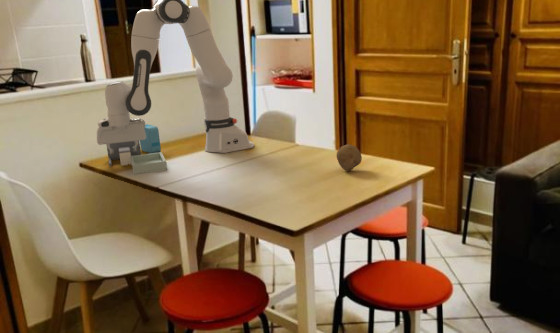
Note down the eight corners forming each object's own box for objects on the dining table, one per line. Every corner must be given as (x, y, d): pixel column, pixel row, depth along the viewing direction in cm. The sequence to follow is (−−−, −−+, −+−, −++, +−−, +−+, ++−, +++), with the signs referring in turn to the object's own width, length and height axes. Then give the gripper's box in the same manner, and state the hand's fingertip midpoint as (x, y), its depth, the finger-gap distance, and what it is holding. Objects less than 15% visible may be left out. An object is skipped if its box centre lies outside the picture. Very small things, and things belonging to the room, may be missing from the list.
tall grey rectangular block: (130, 159, 230) (129, 146, 228) (132, 164, 221) (130, 150, 220) (120, 160, 228) (118, 147, 227) (121, 165, 220) (119, 152, 219)
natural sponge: (353, 166, 197) (352, 140, 195) (366, 171, 189) (366, 144, 187) (332, 170, 194) (331, 144, 191) (345, 175, 186) (344, 148, 183)
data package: (161, 152, 239) (158, 126, 236) (152, 154, 236) (149, 128, 233) (149, 148, 248) (146, 123, 245) (141, 150, 245) (137, 125, 242)
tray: (162, 160, 225) (161, 152, 224) (167, 169, 209) (166, 161, 208) (131, 164, 221) (130, 156, 220) (134, 174, 205) (132, 165, 204)
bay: (141, 155, 235) (137, 132, 232) (143, 162, 223) (140, 138, 220) (108, 159, 231) (105, 136, 228) (109, 167, 219) (105, 142, 216)
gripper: (143, 116, 226) (147, 147, 229) (94, 121, 220) (98, 153, 223) (145, 119, 220) (148, 150, 224) (94, 124, 214) (99, 156, 217)
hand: (123, 152), depth 223 cm, fingers open, 8 cm apart
